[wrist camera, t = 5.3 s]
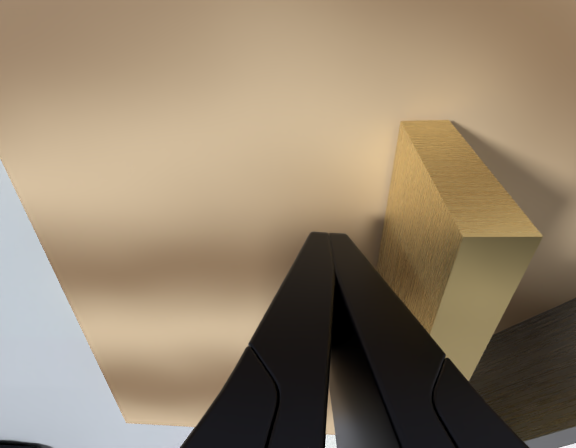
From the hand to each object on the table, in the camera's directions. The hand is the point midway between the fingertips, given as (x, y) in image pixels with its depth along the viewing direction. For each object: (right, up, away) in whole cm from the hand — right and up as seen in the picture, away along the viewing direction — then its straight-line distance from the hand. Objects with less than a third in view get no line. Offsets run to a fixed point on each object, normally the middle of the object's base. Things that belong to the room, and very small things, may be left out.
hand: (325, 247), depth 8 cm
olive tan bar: (+3, -2, +3) cm, 5 cm away
